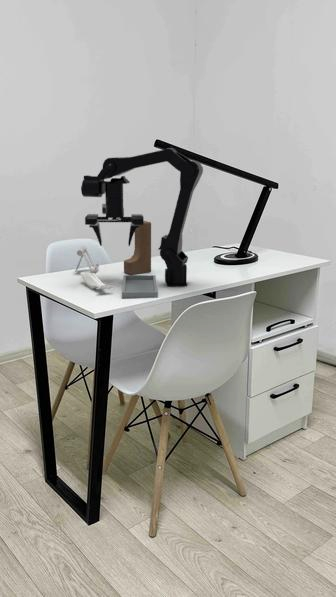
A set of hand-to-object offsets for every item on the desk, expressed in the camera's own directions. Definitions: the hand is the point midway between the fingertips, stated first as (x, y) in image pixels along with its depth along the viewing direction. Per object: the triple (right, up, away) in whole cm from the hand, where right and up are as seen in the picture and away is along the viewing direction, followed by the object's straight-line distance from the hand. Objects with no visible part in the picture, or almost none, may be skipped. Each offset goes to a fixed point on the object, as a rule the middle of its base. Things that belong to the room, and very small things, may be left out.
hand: (115, 245), depth 183 cm
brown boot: (+6, -8, +17) cm, 20 cm away
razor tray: (+8, -14, -7) cm, 18 cm away
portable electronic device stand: (-12, -7, +19) cm, 24 cm away
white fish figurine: (-6, -14, -6) cm, 16 cm away
